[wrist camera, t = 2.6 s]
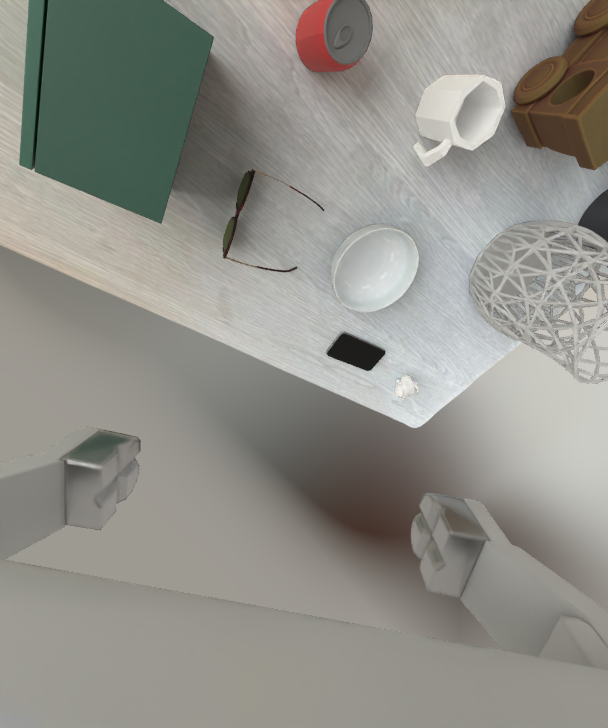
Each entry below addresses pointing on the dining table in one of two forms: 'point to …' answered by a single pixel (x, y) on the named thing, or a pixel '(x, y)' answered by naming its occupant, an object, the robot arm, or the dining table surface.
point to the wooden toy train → (570, 94)
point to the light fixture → (597, 217)
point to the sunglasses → (241, 200)
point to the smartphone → (355, 351)
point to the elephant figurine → (405, 386)
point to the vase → (521, 268)
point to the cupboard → (118, 98)
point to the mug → (458, 113)
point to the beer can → (334, 34)
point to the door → (33, 80)
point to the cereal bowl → (374, 267)
